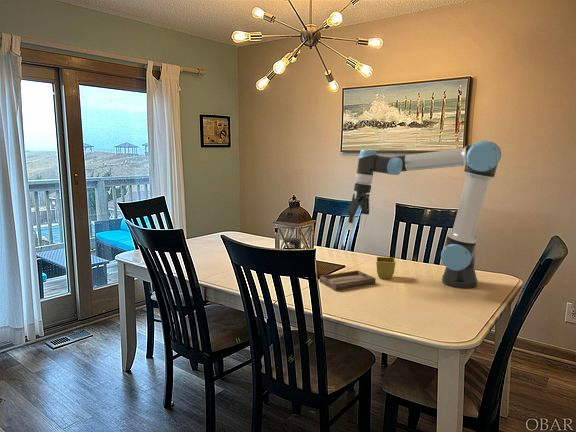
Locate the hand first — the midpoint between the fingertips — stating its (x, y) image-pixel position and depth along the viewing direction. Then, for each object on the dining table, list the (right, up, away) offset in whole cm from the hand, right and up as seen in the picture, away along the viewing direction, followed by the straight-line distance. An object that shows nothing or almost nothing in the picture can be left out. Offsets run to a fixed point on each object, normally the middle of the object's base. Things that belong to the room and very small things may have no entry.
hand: (356, 228), depth 205 cm
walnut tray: (-4, -25, -3) cm, 26 cm away
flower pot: (+15, -24, +5) cm, 28 cm away
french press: (-29, -22, +15) cm, 40 cm away
